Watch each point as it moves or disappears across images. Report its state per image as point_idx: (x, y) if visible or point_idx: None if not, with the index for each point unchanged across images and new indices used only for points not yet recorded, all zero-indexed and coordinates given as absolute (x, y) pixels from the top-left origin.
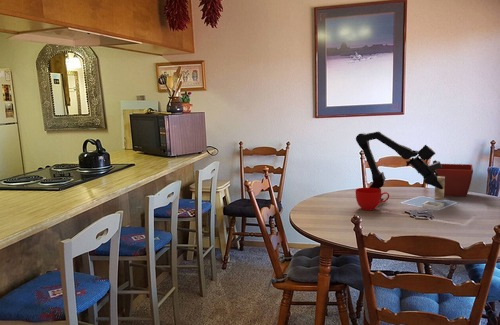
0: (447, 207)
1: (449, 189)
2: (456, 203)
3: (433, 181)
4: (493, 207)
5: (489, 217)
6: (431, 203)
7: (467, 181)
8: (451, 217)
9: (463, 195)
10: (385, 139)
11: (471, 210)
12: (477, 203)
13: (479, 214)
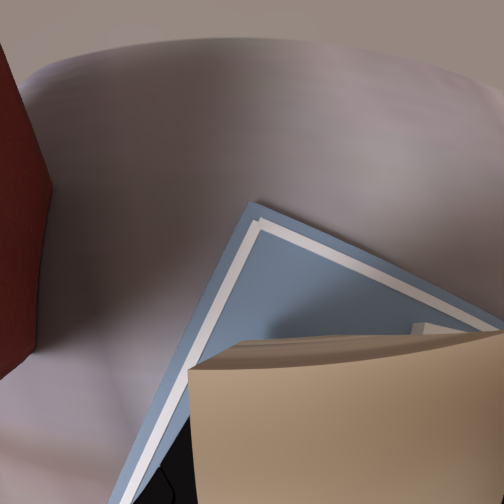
0: (448, 292)
1: (4, 277)
2: (293, 226)
3: None
4: (261, 43)
5: (470, 93)
6: None
7: (2, 82)
8: None
9: (45, 181)
10: None
11: (395, 142)
12: (179, 104)
13: (452, 118)
